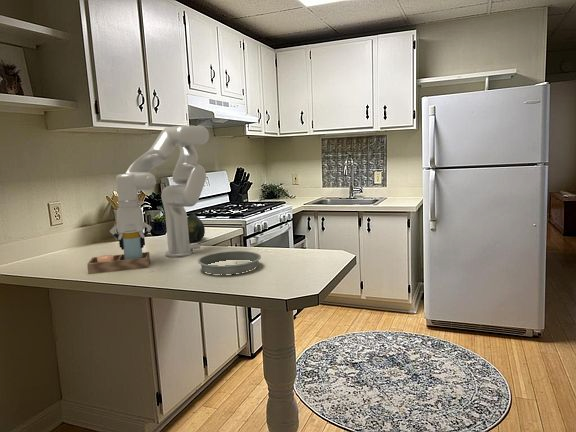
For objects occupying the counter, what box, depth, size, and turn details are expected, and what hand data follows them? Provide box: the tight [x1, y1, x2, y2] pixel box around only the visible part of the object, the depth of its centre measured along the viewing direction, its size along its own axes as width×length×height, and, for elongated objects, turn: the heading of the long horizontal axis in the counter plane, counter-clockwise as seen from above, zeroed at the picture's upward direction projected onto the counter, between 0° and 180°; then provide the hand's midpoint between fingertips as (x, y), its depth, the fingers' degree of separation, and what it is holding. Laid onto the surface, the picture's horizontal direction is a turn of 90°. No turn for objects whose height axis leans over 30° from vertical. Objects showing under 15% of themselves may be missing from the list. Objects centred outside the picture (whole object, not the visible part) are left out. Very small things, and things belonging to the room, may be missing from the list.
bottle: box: [122, 225, 143, 260], centre depth 179 cm, size 7×7×15 cm
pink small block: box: [96, 254, 114, 262], centre depth 178 cm, size 6×6×5 cm
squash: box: [187, 213, 206, 243], centre depth 232 cm, size 14×15×15 cm
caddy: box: [86, 251, 151, 275], centre depth 179 cm, size 22×12×5 cm, turn 104°
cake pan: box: [197, 250, 262, 275], centre depth 174 cm, size 25×25×4 cm
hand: (132, 247), depth 180 cm, fingers closed on bottle, 7 cm apart
